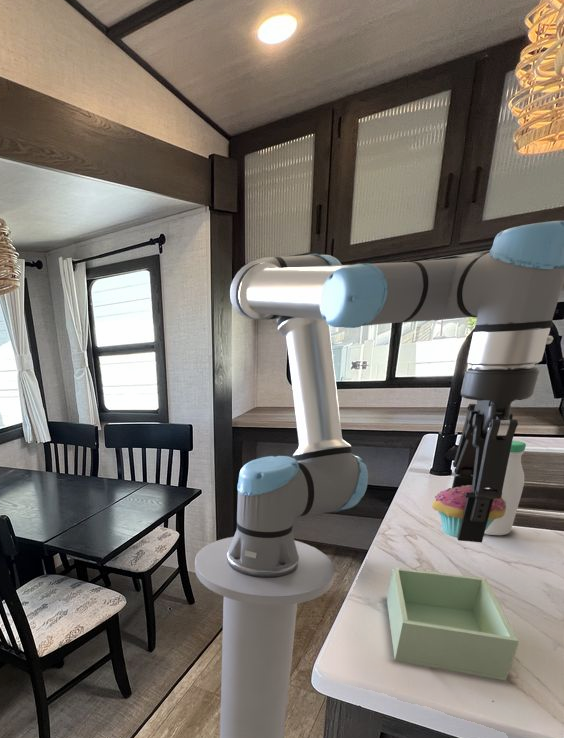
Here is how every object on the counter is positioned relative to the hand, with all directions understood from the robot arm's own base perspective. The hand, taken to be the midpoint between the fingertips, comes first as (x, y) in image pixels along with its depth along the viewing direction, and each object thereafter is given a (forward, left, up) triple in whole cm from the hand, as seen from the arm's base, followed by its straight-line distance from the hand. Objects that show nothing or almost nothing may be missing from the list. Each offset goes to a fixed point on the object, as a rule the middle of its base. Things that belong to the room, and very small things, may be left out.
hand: (462, 528), depth 69 cm
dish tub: (+3, -1, -17) cm, 17 cm away
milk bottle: (-45, +15, -17) cm, 50 cm away
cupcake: (0, 0, -1) cm, 1 cm away
